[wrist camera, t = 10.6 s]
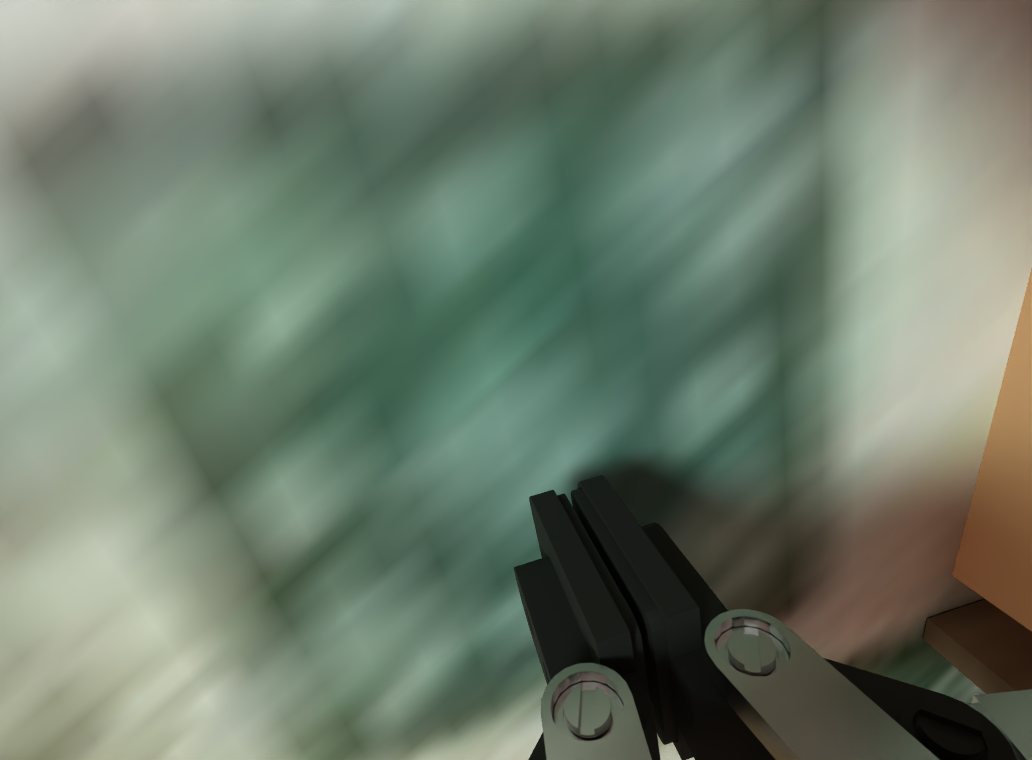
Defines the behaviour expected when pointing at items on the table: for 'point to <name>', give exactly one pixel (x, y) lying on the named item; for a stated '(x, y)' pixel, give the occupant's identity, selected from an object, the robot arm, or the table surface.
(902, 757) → the robot arm
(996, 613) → the brown wooden rack
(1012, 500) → the t block
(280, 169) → the table surface
